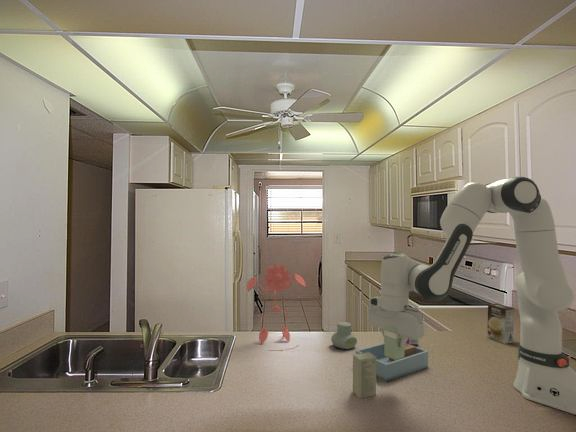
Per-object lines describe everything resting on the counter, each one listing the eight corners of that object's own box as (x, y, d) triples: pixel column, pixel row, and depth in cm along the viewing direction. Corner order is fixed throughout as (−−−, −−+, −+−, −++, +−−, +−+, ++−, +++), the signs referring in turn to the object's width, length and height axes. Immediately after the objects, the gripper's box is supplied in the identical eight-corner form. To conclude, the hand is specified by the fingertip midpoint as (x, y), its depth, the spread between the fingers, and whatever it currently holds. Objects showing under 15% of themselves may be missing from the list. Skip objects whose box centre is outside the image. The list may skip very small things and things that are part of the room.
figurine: (244, 339, 154) (246, 261, 153) (299, 336, 159) (302, 261, 159) (247, 353, 139) (250, 267, 138) (309, 350, 144) (311, 267, 144)
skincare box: (369, 389, 112) (369, 351, 112) (376, 396, 107) (377, 357, 107) (351, 391, 110) (352, 353, 110) (358, 398, 105) (359, 359, 106)
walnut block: (415, 362, 132) (415, 346, 132) (403, 366, 128) (404, 350, 128) (400, 355, 138) (400, 340, 138) (388, 359, 134) (389, 344, 134)
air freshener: (346, 341, 155) (346, 319, 155) (359, 347, 148) (360, 324, 148) (327, 346, 149) (328, 323, 149) (341, 352, 142) (341, 328, 142)
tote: (427, 366, 130) (428, 351, 130) (385, 382, 117) (386, 364, 117) (396, 353, 142) (396, 339, 142) (355, 366, 129) (355, 350, 129)
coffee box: (486, 337, 164) (486, 303, 164) (495, 336, 167) (496, 303, 167) (504, 344, 156) (505, 308, 156) (514, 342, 158) (514, 307, 158)
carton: (404, 356, 112) (404, 326, 112) (395, 360, 110) (395, 328, 110) (393, 352, 116) (393, 322, 116) (384, 355, 113) (384, 324, 114)
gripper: (428, 308, 106) (428, 353, 106) (377, 295, 123) (377, 334, 123) (415, 311, 103) (415, 357, 102) (365, 298, 120) (364, 337, 119)
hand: (394, 344), depth 113 cm, fingers closed on carton, 4 cm apart
